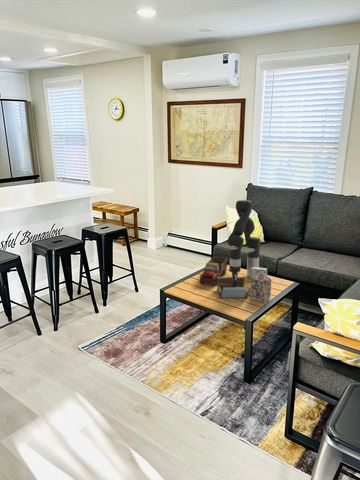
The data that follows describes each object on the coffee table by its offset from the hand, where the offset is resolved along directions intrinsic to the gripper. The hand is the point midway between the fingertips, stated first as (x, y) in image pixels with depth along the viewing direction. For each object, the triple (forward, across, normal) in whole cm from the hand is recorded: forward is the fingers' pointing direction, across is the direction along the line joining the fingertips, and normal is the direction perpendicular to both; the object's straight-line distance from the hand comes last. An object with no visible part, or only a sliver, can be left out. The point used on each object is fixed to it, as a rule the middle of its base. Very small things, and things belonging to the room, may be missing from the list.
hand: (234, 287), depth 259 cm
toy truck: (+10, -42, -10) cm, 45 cm away
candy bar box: (+10, -21, +21) cm, 31 cm away
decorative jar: (+10, -4, +19) cm, 22 cm away
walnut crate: (+10, -12, 0) cm, 15 cm away
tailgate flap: (+8, -4, 0) cm, 9 cm away
